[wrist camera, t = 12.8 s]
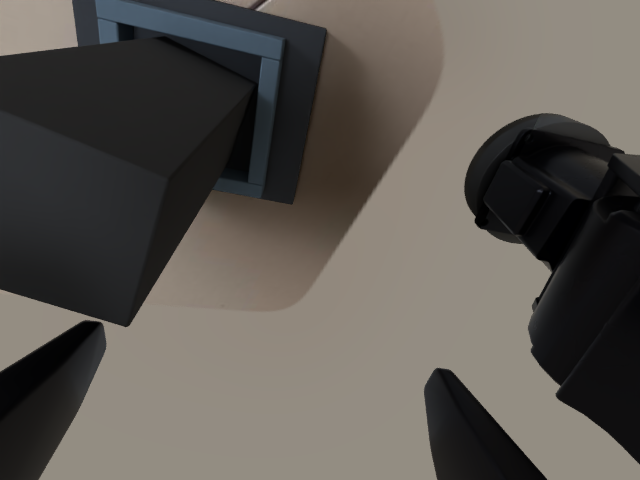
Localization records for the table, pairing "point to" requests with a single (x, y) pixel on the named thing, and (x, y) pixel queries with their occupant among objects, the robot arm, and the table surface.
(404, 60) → the table surface
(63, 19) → the table surface
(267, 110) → the base pad
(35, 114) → the dark grey square block
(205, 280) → the table surface
